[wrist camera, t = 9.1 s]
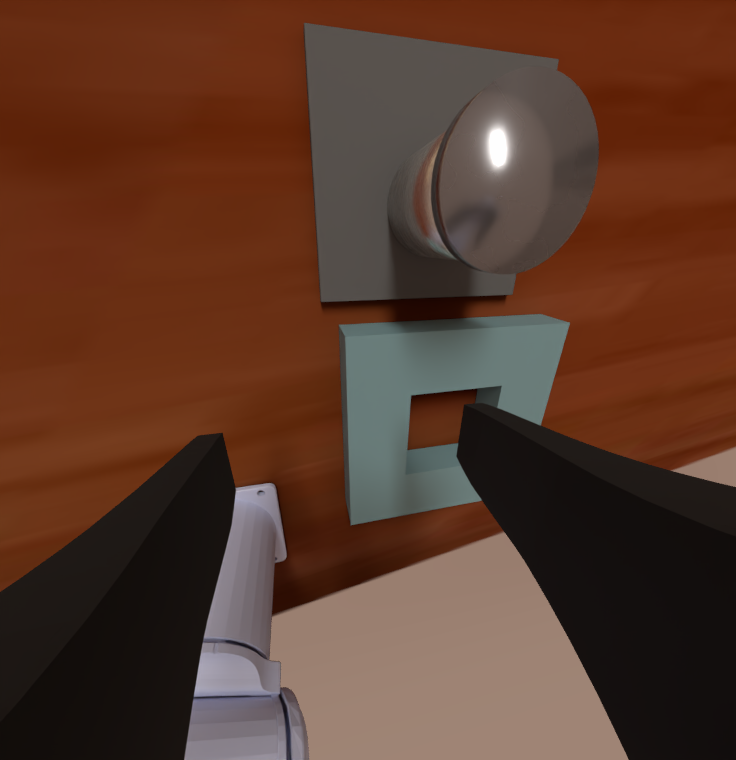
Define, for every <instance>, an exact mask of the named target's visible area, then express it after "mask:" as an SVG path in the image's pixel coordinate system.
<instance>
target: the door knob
mask: <svg viewBox="0 0 736 760" xmlns="http://www.w3.org/2000/svg"><path fill="white" fill-rule="evenodd" d="M598 155H599V144H598V132H597V127H596V122H595V118H594V115H593V112H592V109H591V107H590V105H589V103H588V100H587V98H586V97H585V95H584V94H583V92H582V91H581V89H580V88H579V87H578V86H577V85H576V84H575V83H574V82H573V81H572V80H571V79H570V78H569V77H567V76H566V75H564V74H563V73H561V72H559V71H556V70H554V69H551V68H547V67H542V66H530V67H524V68H519V69H516V70H514V71H511V72H508V73H506V74H504V75H503V76H501V77H499V78H498V79H496V80H494V81H493V82H492V83H491V84H489V85H488V86H487V87H486V88H484V89H483V90H482V91H481V92H479V93H478V94H477V95H476V96H474V97H473V98H472V99H471V100H469V102H468V103H467V104H466V105H465V106H464V107H463V108H462V109H461V110H460V111H459V113H458V114H457V115H456V117H455V118H454V119H453V121H452V122H451V124H450V126H449V127H448V129H447V130H446V131H444V132H443V133H442V134H440V135H439V136H437V137H436V138H435V139H433V140H432V141H431V142H429V143H428V144H426V145H425V146H424V147H422V148H421V149H419V150H418V151H417V152H415V153H414V154H413V155H411V156H410V157H409V158H408V159H406V160H405V161H404V163H403V164H402V165H401V166H400V167H399V169H398V170H397V172H396V174H395V175H394V177H393V180H392V182H391V185H390V189H389V193H388V199H387V213H388V219H389V223H390V227H391V229H392V232H393V234H394V235H395V237H396V239H397V240H398V241H399V243H400V244H401V245H402V246H403V247H404V248H405V249H407V250H408V251H410V252H411V253H413V254H416V255H419V256H423V257H431V258H440V259H449V260H458V261H459V262H461V263H462V264H464V265H466V266H467V267H469V268H472V269H474V270H477V271H482V272H487V273H493V274H506V275H508V274H516V273H520V272H523V271H526V270H529V269H531V268H533V267H535V266H537V265H539V264H541V263H542V262H544V261H545V260H546V259H548V258H549V257H551V256H552V255H553V254H554V253H555V252H556V251H557V250H558V249H559V248H560V247H561V246H562V245H563V244H564V243H565V242H566V241H567V239H568V238H569V237H570V235H571V234H572V233H573V231H574V230H575V228H576V226H577V225H578V223H579V222H580V220H581V218H582V216H583V214H584V212H585V210H586V207H587V205H588V202H589V200H590V197H591V194H592V191H593V187H594V184H595V179H596V174H597V167H598Z"/></svg>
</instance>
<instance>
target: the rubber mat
mask: <svg viewBox="0 0 736 760" xmlns="http://www.w3.org/2000/svg"><path fill="white" fill-rule="evenodd" d="M304 45H305V61H306V77H307V93H308V109H309V125H310V141H311V157H312V174H313V190H314V206H315V222H316V238H317V254H318V270H319V286H320V300H321V302H334V301H360V300H386V299H412V298H438V297H464V296H490V295H512V294H513V289H514V284H515V279H516V274H508V275H506V274H493V273H487V272H482V271H477V270H474V269H472V268H469V267H467V266H466V265H464V264H462V263H461V262H459V261H458V260H449V259H440V258H431V257H423V256H419V255H416V254H413V253H411V252H410V251H408V250H407V249H405V248H404V247H403V246H402V245H401V244H400V243H399V241H398V240H397V239H396V237H395V235H394V234H393V232H392V229H391V227H390V223H389V219H388V213H387V199H388V193H389V189H390V185H391V182H392V180H393V177H394V175H395V174H396V172H397V170H398V169H399V167H400V166H401V165H402V164H403V163H404V161H405V160H406V159H408V158H409V157H410V156H411V155H413V154H414V153H415V152H417V151H418V150H419V149H421V148H422V147H424V146H425V145H426V144H428V143H429V142H431V141H432V140H433V139H435V138H436V137H437V136H439V135H440V134H442V133H443V132H444V131H446V130H447V129H448V127H449V126H450V124H451V122H452V121H453V119H454V118H455V117H456V115H457V114H458V113H459V111H460V110H461V109H462V108H463V107H464V106H465V105H466V104H467V103H468V102H469V100H471V99H472V98H473V97H474V96H476V95H477V94H478V93H479V92H481V91H482V90H483V89H484V88H486V87H487V86H488V85H489V84H491V83H492V82H493V81H494V80H496V79H498V78H499V77H501V76H503V75H504V74H506V73H508V72H511V71H514V70H516V69H519V68H524V67H530V66H542V67H547V68H551V69H554V70H556V71H557V66H558V61H559V59H552V58H545V57H539V56H532V55H525V54H518V53H511V52H504V51H497V50H490V49H483V48H476V47H469V46H462V45H455V44H448V43H441V42H434V41H427V40H420V39H413V38H406V37H399V36H392V35H385V34H378V33H371V32H364V31H357V30H350V29H343V28H336V27H329V26H322V25H315V24H308V23H304Z"/></svg>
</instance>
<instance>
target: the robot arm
mask: <svg viewBox="0 0 736 760" xmlns="http://www.w3.org/2000/svg"><path fill="white" fill-rule="evenodd" d="M456 457H457V459H458V461H459V463H460V465H461V467H462V469H463V471H464V473H465V475H466V476H467V478H468V480H469V482H470V484H471V485H472V487H473V488H474V490H475V491H476V492H477V494H478V495H479V497H480V498H481V500H482V501H483V502H484V504H485V505H486V507H487V508H488V510H489V511H490V512H491V514H492V515H493V517H494V518H495V519H496V521H497V522H498V523H499V525H500V526H501V528H502V529H503V530H504V532H505V533H506V535H507V536H508V537H509V539H510V540H511V542H512V543H513V544H514V546H515V547H516V549H517V550H518V552H519V553H520V555H521V556H522V558H523V559H524V561H525V562H526V564H527V566H528V567H529V569H530V571H531V572H532V574H533V576H534V578H535V579H536V581H537V582H538V584H539V586H540V588H541V589H542V591H543V593H544V595H545V596H546V598H547V600H548V601H549V603H550V605H551V607H552V609H553V611H554V612H555V614H556V616H557V618H558V620H559V621H560V623H561V625H562V627H563V629H564V631H565V632H566V634H567V636H568V638H569V640H570V642H571V643H572V645H573V647H574V649H575V651H576V653H577V655H578V657H579V659H580V661H581V663H582V665H583V667H584V669H585V670H586V673H587V675H588V677H589V678H590V680H591V682H592V684H593V686H594V688H595V690H596V692H597V694H598V696H599V698H600V700H601V702H602V704H603V706H604V709H605V711H606V712H607V715H608V717H609V719H610V721H611V723H612V725H613V727H614V729H615V732H616V734H617V736H618V738H619V740H620V742H621V744H622V746H623V748H624V750H625V752H626V754H627V757H628V759H629V760H736V487H733V486H728V485H724V484H719V483H715V482H712V481H707V480H704V479H700V478H696V477H692V476H688V475H684V474H680V473H677V472H673V471H669V470H666V469H662V468H659V467H655V466H652V465H648V464H645V463H642V462H639V461H636V460H633V459H629V458H626V457H623V456H620V455H617V454H614V453H611V452H608V451H605V450H602V449H599V448H597V447H594V446H591V445H589V444H586V443H583V442H580V441H578V440H575V439H572V438H570V437H567V436H565V435H562V434H560V433H557V432H555V431H552V430H550V429H547V428H545V427H543V426H540V425H538V424H535V423H533V422H531V421H528V420H526V419H524V418H521V417H519V416H516V415H514V414H512V413H509V412H507V411H504V410H502V409H499V408H496V407H494V406H491V405H488V404H485V403H474V404H466V405H464V410H463V416H462V423H461V429H460V435H459V442H458V448H457V455H456ZM260 490H262V491H263V492H259V491H260ZM286 557H287V551H286V545H285V539H284V533H283V527H282V521H281V515H280V509H279V503H278V497H277V490H276V486H275V485H274V484H272V483H266V484H259V485H253V486H246V487H239V488H235V484H234V479H233V475H232V471H231V467H230V463H229V459H228V454H227V450H226V446H225V442H224V438H223V433H217V434H209V435H200V436H197V437H196V438H195V439H193V440H192V441H191V442H190V443H189V444H188V445H186V446H185V447H184V448H183V449H182V450H181V451H180V452H178V453H177V454H176V455H175V456H174V457H173V458H172V459H171V460H170V461H168V462H167V463H166V464H165V465H164V466H163V467H162V468H161V469H159V470H158V471H157V472H156V473H155V474H154V475H153V476H151V477H150V478H149V479H148V480H147V481H146V482H145V483H144V484H142V485H141V486H140V487H139V488H138V489H137V490H135V491H134V492H133V493H132V494H131V495H129V496H128V497H127V498H126V499H124V500H123V501H122V502H121V503H120V504H118V505H117V506H116V507H115V508H113V509H112V510H111V511H110V512H108V513H107V514H106V515H105V516H104V517H102V518H101V519H100V520H99V521H97V522H96V523H95V524H94V525H93V526H91V527H90V528H89V529H87V530H86V531H85V532H84V533H82V534H81V535H80V536H78V537H77V538H76V539H74V540H73V541H72V542H70V543H69V544H68V545H66V546H65V547H64V548H62V549H61V550H60V551H58V552H57V553H55V554H54V555H53V556H51V557H50V558H48V559H47V560H46V561H44V562H43V563H41V564H40V565H39V566H37V567H36V568H34V569H33V570H32V571H30V572H29V573H27V574H26V575H25V576H23V577H22V578H20V579H19V580H17V581H16V582H14V583H13V584H12V585H10V586H9V587H7V588H6V589H4V590H3V591H1V592H0V760H309V747H308V737H307V731H306V725H305V721H304V717H303V715H302V712H301V710H300V707H299V704H298V701H297V699H296V697H295V695H294V693H293V692H292V691H291V690H290V689H288V688H286V687H285V688H284V687H283V688H280V679H281V663H280V662H279V661H270V660H269V656H270V638H271V620H272V602H273V584H274V566H275V563H276V562H281V561H284V560H285V559H286Z"/></svg>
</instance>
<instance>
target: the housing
mask: <svg viewBox="0 0 736 760" xmlns="http://www.w3.org/2000/svg"><path fill="white" fill-rule="evenodd" d="M569 324H570V323H569V322H565V321H562V320H559V319H555V318H552V317H549V316H545V315H542V314H533V315H514V316H496V317H477V318H459V319H440V320H422V321H403V322H385V323H366V324H348V325H339V342H340V368H341V394H342V420H343V446H344V472H345V498H346V504H347V509H348V513H349V518H350V523H351V525H355V524H360V523H365V522H371V521H376V520H381V519H387V518H392V517H397V516H402V515H408V514H413V513H418V512H424V511H429V510H434V509H440V508H445V507H450V506H455V505H461V504H466V503H471V502H477V501H482V500H481V498H480V497H479V495H478V494H477V492H476V491H475V490H474V488H473V487H472V485H471V484H470V482H469V480H468V478H467V476H466V475H465V473H464V471H463V469H462V467H461V465H460V463H459V461H458V459H457V457H456V455H457V448H458V443H456V444H449V445H442V446H435V447H428V448H421V449H414V450H407V445H408V431H409V417H410V403H411V395H419V394H428V393H437V392H447V391H456V390H466V389H475V388H478V389H477V395H476V401H475V403H485V404H488V405H491V406H494V407H496V408H499V409H502V410H504V411H507V412H509V413H512V414H514V415H516V416H519V417H521V418H524V419H526V420H528V421H531V422H533V423H535V424H538V425H540V426H541V422H542V419H543V415H544V412H545V408H546V405H547V401H548V398H549V394H550V391H551V387H552V384H553V380H554V377H555V373H556V370H557V366H558V363H559V359H560V356H561V352H562V349H563V345H564V342H565V338H566V335H567V331H568V328H569Z"/></svg>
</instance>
